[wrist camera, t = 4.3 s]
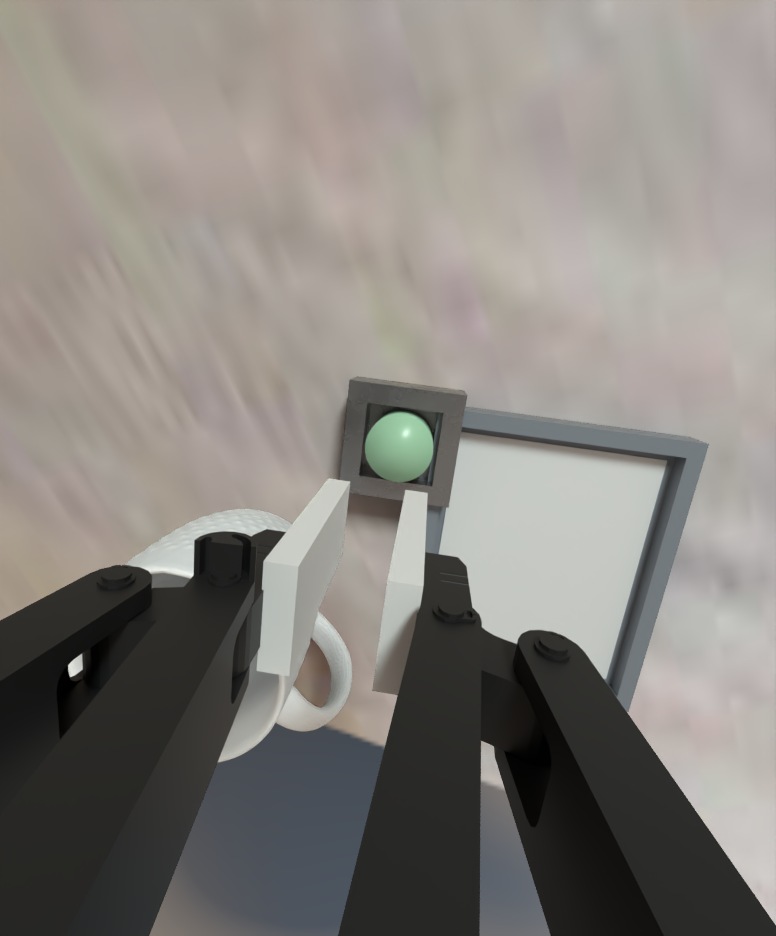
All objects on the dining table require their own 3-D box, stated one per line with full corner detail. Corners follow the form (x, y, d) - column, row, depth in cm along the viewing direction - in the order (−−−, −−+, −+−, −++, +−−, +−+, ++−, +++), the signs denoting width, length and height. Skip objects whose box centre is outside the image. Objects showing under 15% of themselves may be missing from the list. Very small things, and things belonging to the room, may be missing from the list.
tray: (400, 653, 37) (398, 673, 34) (438, 403, 32) (438, 407, 30) (616, 689, 36) (628, 711, 34) (689, 437, 31) (708, 444, 29)
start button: (366, 467, 31) (361, 477, 29) (373, 406, 30) (368, 410, 28) (428, 476, 31) (427, 486, 29) (437, 414, 30) (437, 420, 28)
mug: (409, 590, 35) (395, 728, 23) (314, 681, 38) (254, 849, 25) (252, 453, 34) (143, 518, 21) (164, 557, 37) (21, 670, 24)
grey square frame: (346, 478, 34) (338, 491, 31) (357, 376, 32) (349, 379, 29) (447, 493, 33) (448, 507, 30) (464, 390, 31) (467, 395, 29)
